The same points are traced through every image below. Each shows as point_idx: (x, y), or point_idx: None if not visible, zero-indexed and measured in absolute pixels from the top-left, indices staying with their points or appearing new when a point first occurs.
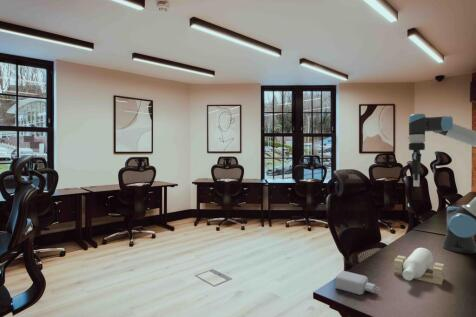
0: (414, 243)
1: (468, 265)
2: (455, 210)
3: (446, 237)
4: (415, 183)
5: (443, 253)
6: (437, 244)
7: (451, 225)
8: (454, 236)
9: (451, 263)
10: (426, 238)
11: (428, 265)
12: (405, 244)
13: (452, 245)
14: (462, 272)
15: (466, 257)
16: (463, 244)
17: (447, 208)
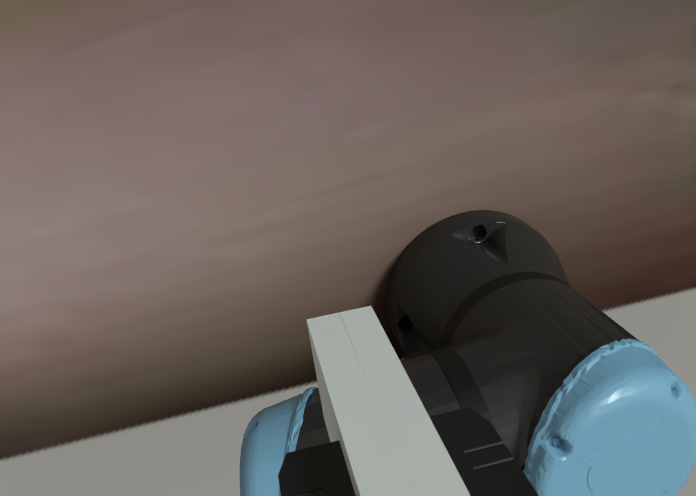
0: (410, 49)
1: (168, 407)
2: (521, 462)
3: (460, 268)
4: (324, 398)
5: (301, 261)
6: (496, 172)
7: (241, 449)
8: (437, 330)
9: (124, 348)
10: (617, 68)
11: None
12: (328, 8)
13: (402, 296)
14: (10, 424)
15: None
16: (415, 355)
17: (588, 389)
